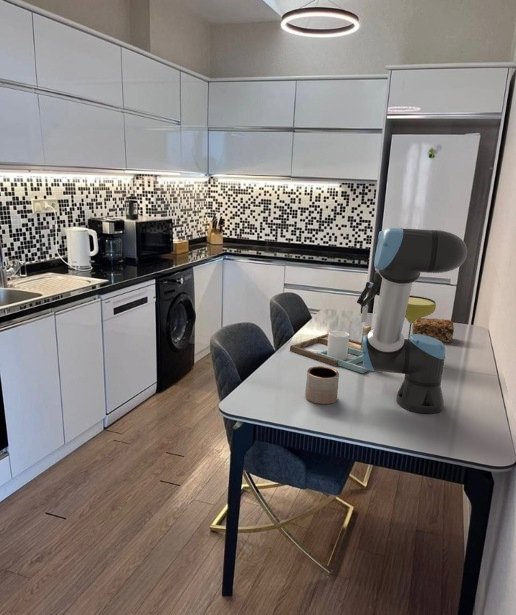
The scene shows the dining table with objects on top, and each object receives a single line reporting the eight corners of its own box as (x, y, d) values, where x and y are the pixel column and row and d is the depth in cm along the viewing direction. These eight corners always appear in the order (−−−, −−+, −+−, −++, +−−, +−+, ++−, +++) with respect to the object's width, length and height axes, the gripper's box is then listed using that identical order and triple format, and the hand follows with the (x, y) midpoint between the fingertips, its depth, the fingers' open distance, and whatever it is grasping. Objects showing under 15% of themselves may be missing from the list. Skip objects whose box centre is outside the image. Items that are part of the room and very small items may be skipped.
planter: (329, 408, 155) (331, 381, 153) (299, 399, 161) (301, 373, 158) (341, 396, 164) (344, 371, 162) (313, 388, 170) (315, 363, 167)
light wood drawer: (362, 354, 206) (364, 328, 203) (320, 341, 221) (322, 317, 218) (370, 350, 211) (373, 325, 208) (329, 338, 226) (331, 314, 223)
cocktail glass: (404, 365, 197) (411, 306, 190) (377, 350, 212) (383, 296, 206) (437, 360, 204) (445, 303, 198) (408, 346, 220) (415, 294, 214)
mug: (353, 355, 205) (356, 331, 203) (341, 362, 196) (343, 338, 193) (336, 350, 210) (338, 327, 207) (322, 357, 201) (324, 333, 198)
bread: (450, 338, 236) (453, 318, 234) (452, 344, 226) (455, 324, 224) (411, 333, 242) (413, 314, 239) (411, 339, 232) (413, 319, 229)
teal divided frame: (362, 373, 185) (365, 344, 182) (316, 357, 200) (318, 330, 197) (384, 363, 197) (387, 335, 194) (339, 348, 212) (342, 323, 209)
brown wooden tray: (335, 366, 192) (335, 361, 191) (289, 350, 208) (290, 345, 207) (372, 350, 212) (373, 346, 212) (328, 337, 228) (329, 333, 228)
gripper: (420, 276, 176) (413, 331, 181) (361, 266, 192) (356, 317, 197) (410, 277, 170) (403, 334, 175) (351, 268, 187) (346, 320, 192)
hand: (378, 325), depth 186 cm, fingers open, 13 cm apart
